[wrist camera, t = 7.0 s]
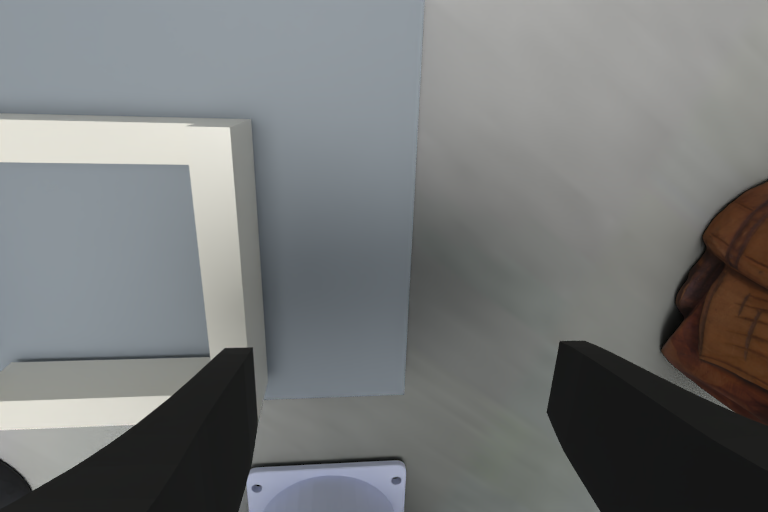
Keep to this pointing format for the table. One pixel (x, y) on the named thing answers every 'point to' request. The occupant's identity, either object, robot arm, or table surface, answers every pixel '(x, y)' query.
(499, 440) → the table surface
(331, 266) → the base board
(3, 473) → the computer mouse
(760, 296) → the wooden figurine
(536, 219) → the table surface
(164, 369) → the frame
